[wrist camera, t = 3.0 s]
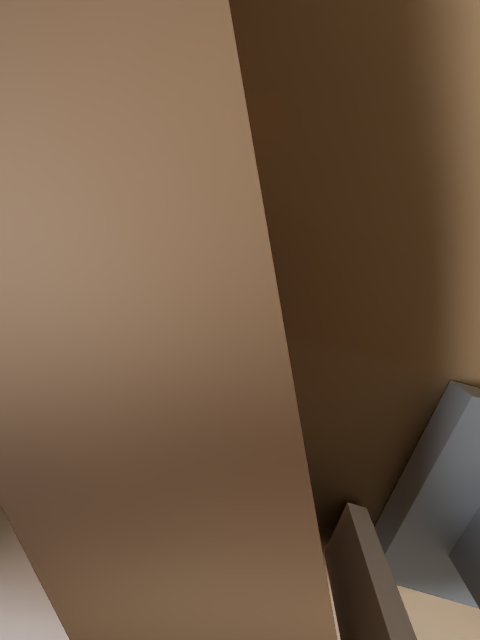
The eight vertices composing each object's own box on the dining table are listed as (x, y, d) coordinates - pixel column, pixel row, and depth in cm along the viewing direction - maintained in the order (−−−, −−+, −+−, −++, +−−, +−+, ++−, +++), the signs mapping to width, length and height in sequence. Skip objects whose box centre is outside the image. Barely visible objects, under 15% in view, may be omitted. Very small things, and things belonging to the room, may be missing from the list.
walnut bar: (51, 31, 8) (-558, -581, 2) (220, -29, 7) (19, -1229, 1) (209, 553, 12) (160, 815, 7) (319, 547, 12) (370, 835, 6)
